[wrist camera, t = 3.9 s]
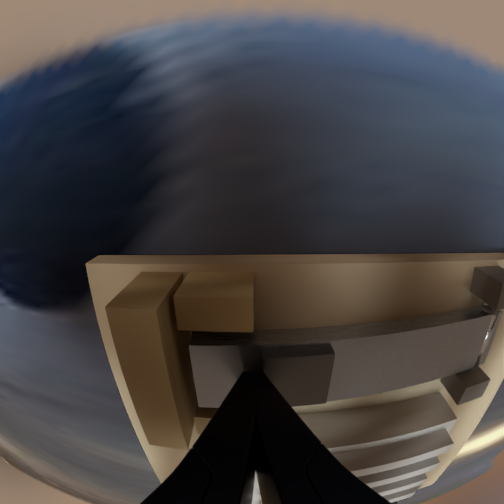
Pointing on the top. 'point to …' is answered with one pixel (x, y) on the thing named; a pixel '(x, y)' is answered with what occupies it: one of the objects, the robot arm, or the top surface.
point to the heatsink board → (291, 317)
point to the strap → (344, 356)
